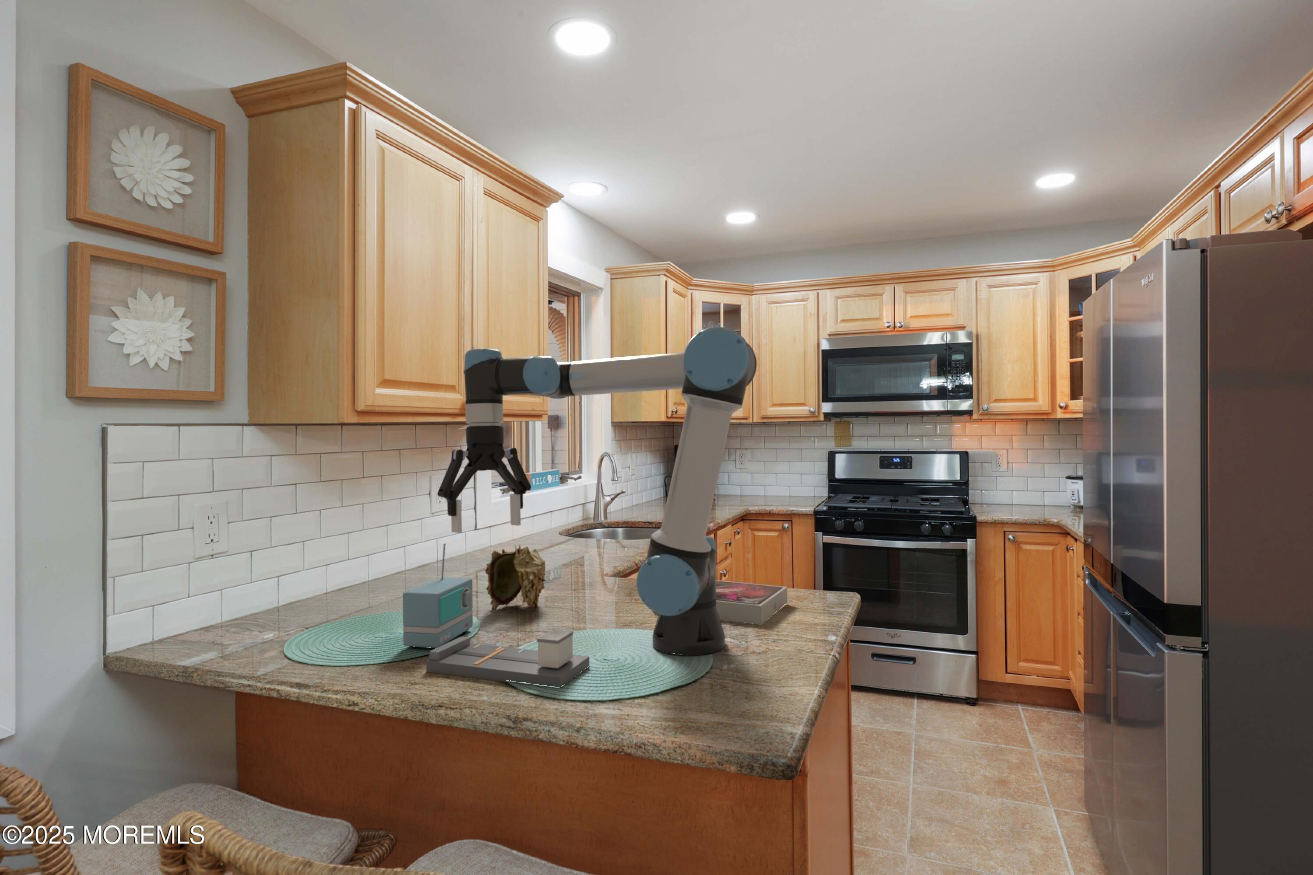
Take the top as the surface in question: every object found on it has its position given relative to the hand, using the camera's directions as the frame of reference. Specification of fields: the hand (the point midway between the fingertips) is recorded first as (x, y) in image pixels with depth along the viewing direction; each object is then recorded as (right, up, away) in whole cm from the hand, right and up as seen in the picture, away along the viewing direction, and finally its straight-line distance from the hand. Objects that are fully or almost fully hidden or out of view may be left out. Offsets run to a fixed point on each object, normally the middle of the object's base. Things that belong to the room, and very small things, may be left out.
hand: (487, 528), depth 141 cm
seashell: (-1, -25, +34) cm, 42 cm away
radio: (-12, -25, +8) cm, 29 cm away
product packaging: (+51, -25, +34) cm, 66 cm away
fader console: (+7, -25, -11) cm, 28 cm away
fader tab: (+16, -23, -15) cm, 31 cm away
